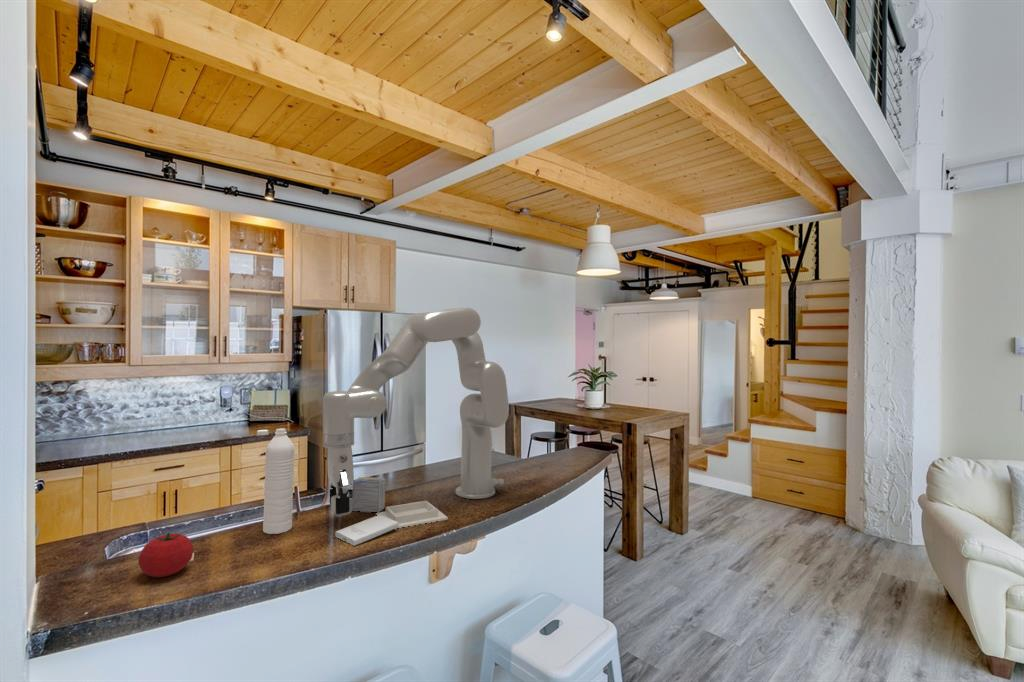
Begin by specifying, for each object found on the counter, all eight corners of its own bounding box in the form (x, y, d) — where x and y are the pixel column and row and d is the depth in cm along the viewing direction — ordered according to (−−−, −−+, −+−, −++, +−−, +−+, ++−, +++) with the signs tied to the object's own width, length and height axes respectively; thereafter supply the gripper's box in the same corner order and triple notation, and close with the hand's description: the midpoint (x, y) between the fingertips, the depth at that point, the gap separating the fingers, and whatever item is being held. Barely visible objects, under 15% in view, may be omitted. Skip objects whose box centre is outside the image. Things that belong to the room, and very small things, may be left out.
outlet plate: (431, 506, 135) (431, 497, 136) (447, 519, 125) (447, 510, 125) (375, 515, 127) (376, 506, 127) (388, 530, 117) (389, 520, 117)
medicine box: (385, 508, 133) (385, 477, 133) (379, 513, 128) (380, 482, 129) (358, 506, 134) (359, 476, 134) (351, 512, 129) (352, 480, 129)
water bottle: (286, 522, 120) (289, 425, 121) (296, 529, 116) (299, 429, 116) (249, 531, 114) (252, 429, 114) (258, 539, 110) (261, 432, 110)
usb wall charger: (335, 516, 117) (335, 501, 117) (328, 508, 122) (328, 493, 122) (351, 513, 119) (351, 497, 119) (344, 505, 125) (344, 490, 124)
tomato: (197, 560, 98) (198, 522, 98) (186, 580, 90) (188, 538, 90) (146, 567, 95) (147, 527, 95) (130, 588, 87) (132, 544, 87)
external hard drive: (398, 528, 117) (354, 546, 107) (379, 520, 122) (335, 537, 112) (398, 522, 117) (354, 539, 107) (378, 514, 122) (334, 530, 112)
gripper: (362, 444, 115) (362, 516, 115) (346, 432, 130) (347, 495, 130) (329, 448, 111) (330, 522, 111) (317, 435, 126) (318, 500, 126)
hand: (339, 507), depth 120 cm, fingers closed on usb wall charger, 7 cm apart
